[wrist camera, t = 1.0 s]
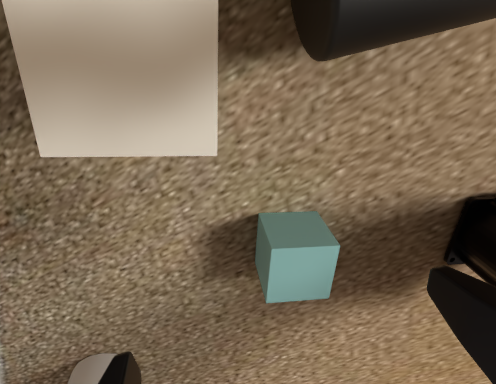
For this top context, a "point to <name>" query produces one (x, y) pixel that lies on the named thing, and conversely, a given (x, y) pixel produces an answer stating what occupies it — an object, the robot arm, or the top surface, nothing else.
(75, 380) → the white cup
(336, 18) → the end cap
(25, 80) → the tower middle block
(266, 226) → the teal block
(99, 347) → the top surface
